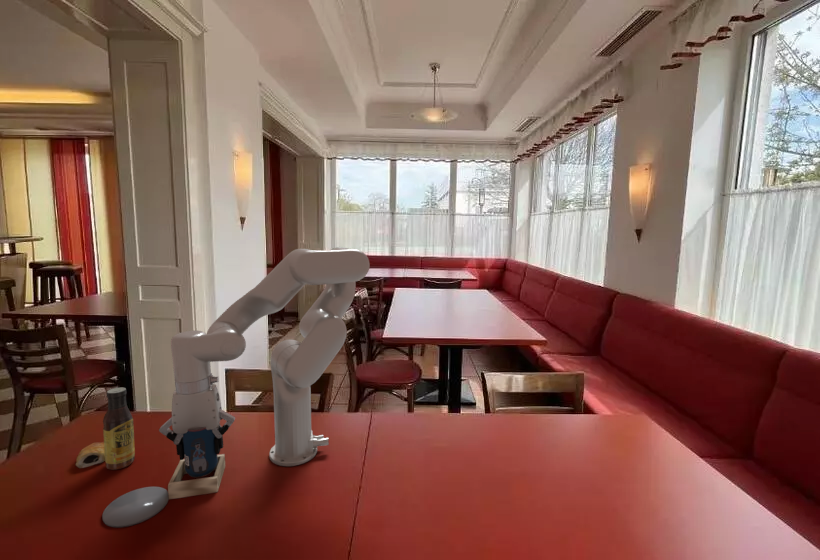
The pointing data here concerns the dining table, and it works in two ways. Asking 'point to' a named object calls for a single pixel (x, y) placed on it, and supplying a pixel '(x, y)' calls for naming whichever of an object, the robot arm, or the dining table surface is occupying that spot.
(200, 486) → the cup holder
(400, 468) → the dining table surface
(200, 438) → the soda can
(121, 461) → the sauce bottle
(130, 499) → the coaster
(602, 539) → the dining table surface
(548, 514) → the dining table surface
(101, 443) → the pastry
